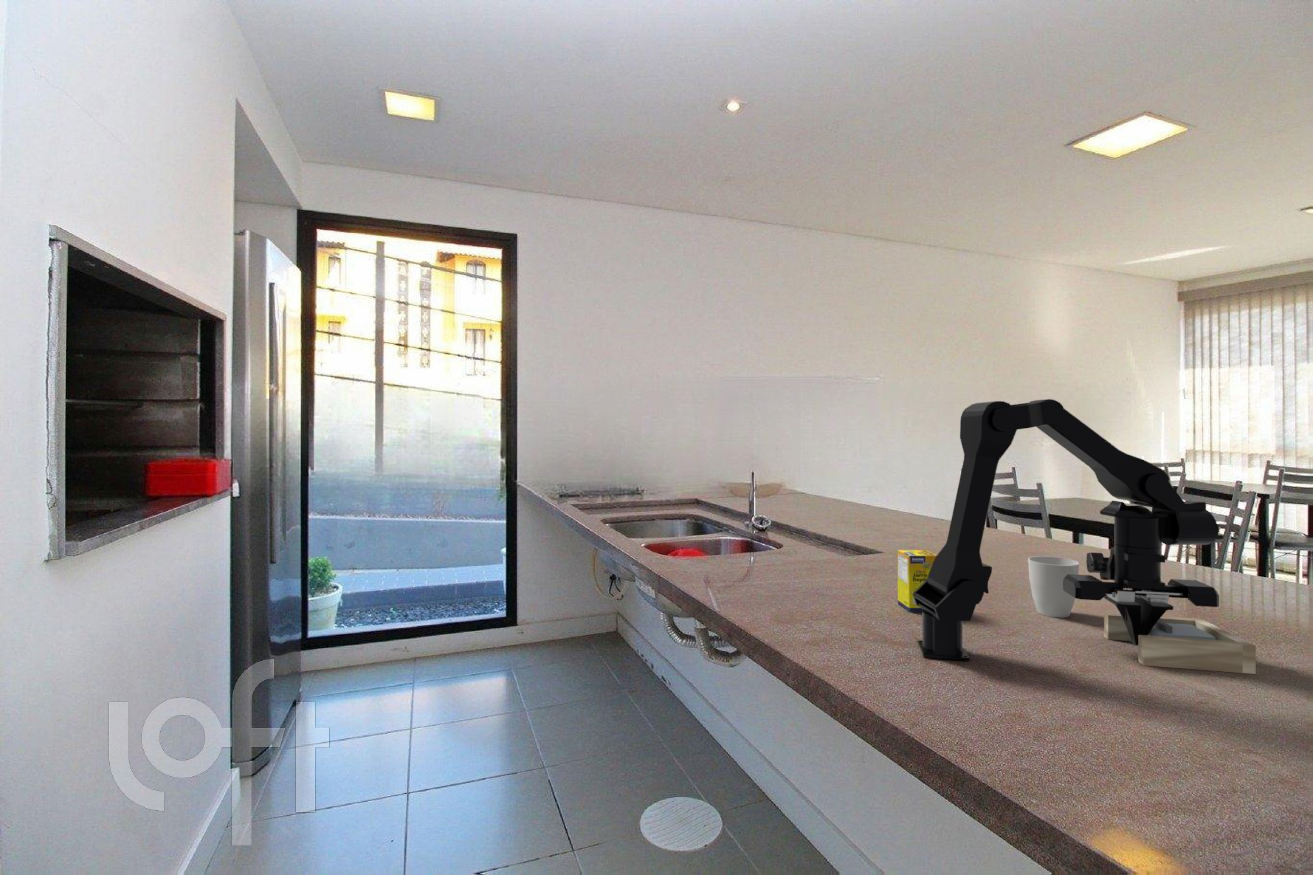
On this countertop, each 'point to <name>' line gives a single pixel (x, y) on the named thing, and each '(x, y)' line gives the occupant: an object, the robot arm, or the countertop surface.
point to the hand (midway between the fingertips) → (1137, 644)
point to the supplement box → (912, 575)
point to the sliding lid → (1179, 631)
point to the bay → (1188, 647)
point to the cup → (1051, 584)
